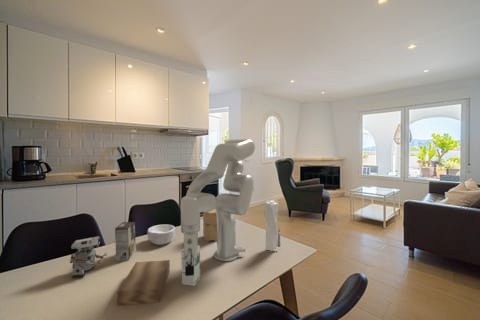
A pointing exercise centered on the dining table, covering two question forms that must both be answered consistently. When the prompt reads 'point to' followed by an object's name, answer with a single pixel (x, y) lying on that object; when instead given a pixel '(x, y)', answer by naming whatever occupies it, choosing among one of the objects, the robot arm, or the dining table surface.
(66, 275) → the dining table surface
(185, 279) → the syrup box
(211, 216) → the container
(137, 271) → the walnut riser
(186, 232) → the robot arm
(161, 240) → the paper bowls
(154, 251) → the dining table surface
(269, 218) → the skyscraper
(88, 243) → the figurine
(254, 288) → the dining table surface
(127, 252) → the coffee box
